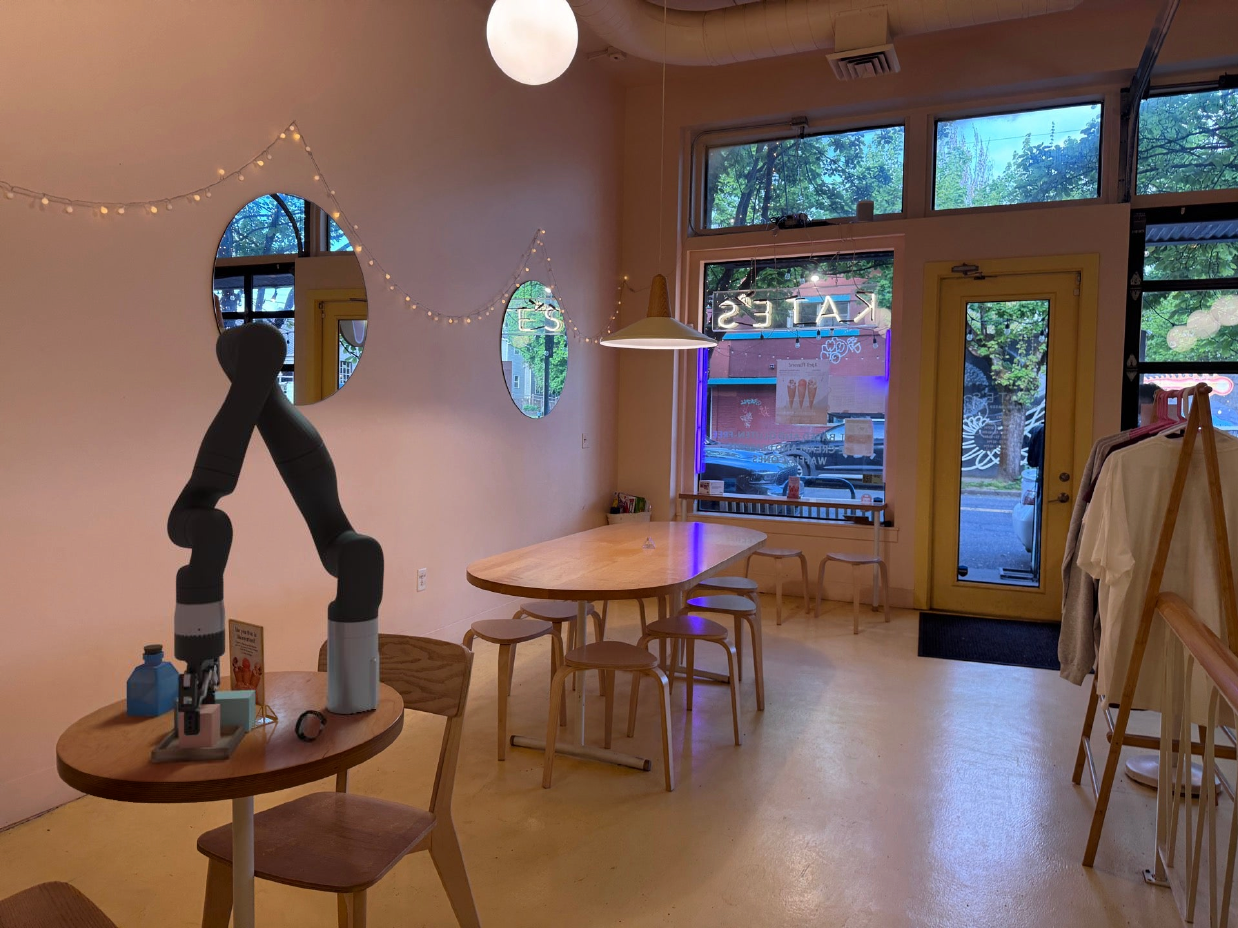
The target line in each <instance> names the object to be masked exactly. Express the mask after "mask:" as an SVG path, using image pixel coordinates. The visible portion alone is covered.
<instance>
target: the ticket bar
mask: <svg viewBox="0 0 1238 928" xmlns="http://www.w3.org/2000/svg"><path fill="white" fill-rule="evenodd" d="M214 694H215V704H220V726H234V725H245V733H249V732H250V731H251V730H252V728H253V727H254V725H255V724H256V689H247V690H245V689H243V690H220V691H218V690H217V692H216V693H214ZM188 704H192V699H189V702H188ZM180 713H181V712H178V697H177V698H176V699H175V700H174V709H173V728H179V714H180ZM254 723H255V724H254Z"/></svg>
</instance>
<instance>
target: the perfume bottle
mask: <svg viewBox="0 0 1238 928" xmlns="http://www.w3.org/2000/svg"><path fill="white" fill-rule="evenodd" d="M163 648H164V645H163V644H155V643H154V644H150V645H149V644H148V645H145V646H143V651H144V652H143V653H142V660H143V661H144V663H141V664H139V665H137V666H135V668H134V669H133V671H132V672H131V674H130V676H129V677H128V679H127V680H126V716H139V717H140V716H141V717H142V716H143V717H155V718H156V717H157V718H158V717H159V718H160V717H161V716H163V715H164V714H166V713H168V712H171V711H172V710H174V700H175V699H176V698H177V697H178V685H179V679H178V677H179V675H180V673H179V671H178V670H177V668H176V667H175V666H174V665H173V663H172V662H171V661H163V658H165V652H164V651H163Z"/></svg>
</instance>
